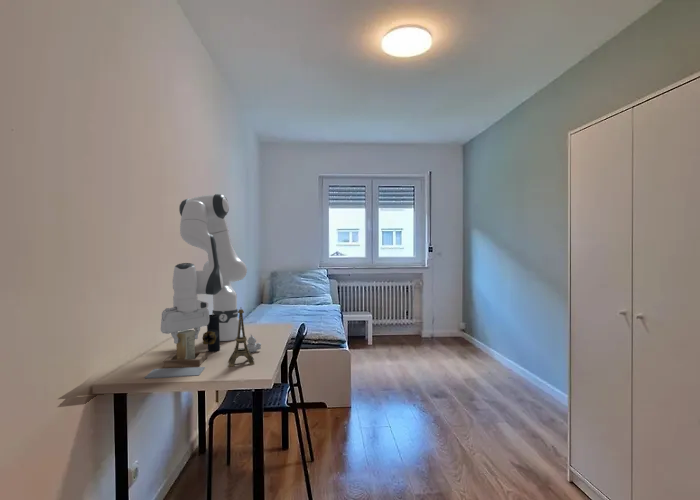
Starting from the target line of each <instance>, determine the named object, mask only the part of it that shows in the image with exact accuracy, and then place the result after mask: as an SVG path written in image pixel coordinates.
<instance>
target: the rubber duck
mask: <svg viewBox="0 0 700 500" xmlns="http://www.w3.org/2000/svg"><path fill="white" fill-rule="evenodd" d="M246 342H247V343H246V345H247V347H248V349H249V352H250V353H251V354H252V353H253V354H254V353H256V352H257V351H258V350H261V349H262V348H261V347H262V343H261V342H257V339H256V338H255V336H253V335H252V334H250V336H249V337H248V339H247V340H246Z"/></svg>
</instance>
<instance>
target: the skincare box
mask: <svg viewBox="0 0 700 500" xmlns="http://www.w3.org/2000/svg"><path fill="white" fill-rule="evenodd" d="M177 337H178V338H180V343H177V344H175V345H176V353H177V360H179V359H195V352H196V346H195V345H196V344H195V343H196V341H195V340H196V339H195V330H194V329H188V330H183V331H178V335H177Z"/></svg>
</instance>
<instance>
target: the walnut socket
mask: <svg viewBox="0 0 700 500" xmlns="http://www.w3.org/2000/svg"><path fill="white" fill-rule="evenodd" d="M206 359H207V351H195V359H179V360H177V352H172V353H170V354H169V356H167V358H165V359H164V360H163V361H162V362H163V363H162V367H163V368H162V369H165V368H191V367H201V365H203V363H204V362H205V360H206Z"/></svg>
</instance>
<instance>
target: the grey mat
mask: <svg viewBox="0 0 700 500" xmlns="http://www.w3.org/2000/svg"><path fill="white" fill-rule="evenodd" d="M205 369H206V366H200V367H179V368H153V369H152V370H151V371H150V372H149V373H147V375H146V376H144V379H163V378H164V379H165V378H183V377H184V378H185V377H199V376H200V375H201V373H203V372H204V370H205Z"/></svg>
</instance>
